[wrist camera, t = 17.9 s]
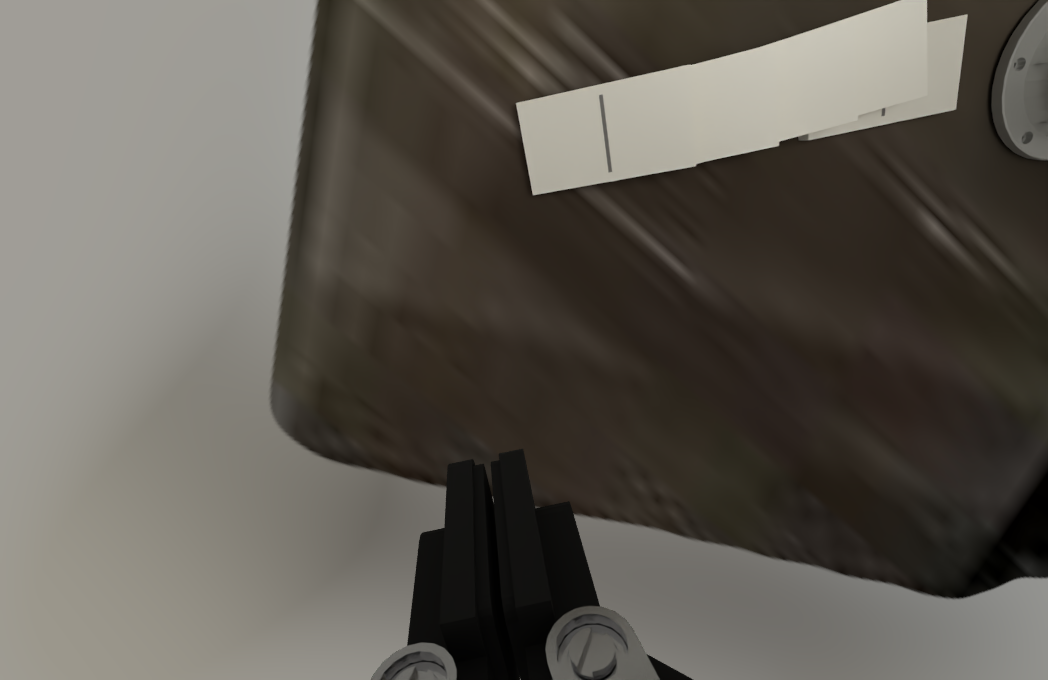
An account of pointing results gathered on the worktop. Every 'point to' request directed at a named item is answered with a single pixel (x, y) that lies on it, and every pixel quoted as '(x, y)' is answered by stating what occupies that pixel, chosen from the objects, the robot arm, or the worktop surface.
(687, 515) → the worktop surface
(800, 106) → the domino
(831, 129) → the domino
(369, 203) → the worktop surface
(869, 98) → the domino
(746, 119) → the domino
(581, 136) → the domino
